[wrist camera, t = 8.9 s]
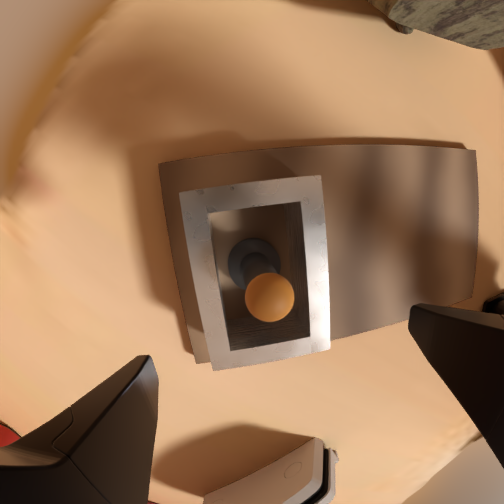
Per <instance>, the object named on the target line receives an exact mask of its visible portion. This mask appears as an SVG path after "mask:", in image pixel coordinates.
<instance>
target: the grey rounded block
mask: <svg viewBox="0 0 504 504" xmlns="http://www.w3.org/2000/svg"><path fill="white" fill-rule="evenodd" d="M323 448H324V446H323V441H322V440H320V439H318V438H315V437H314V438H313V439H311V440H310V441H308V442H307V443H305V444H304V445H302V446H300V447H299V448H297V449H295V450H294V451H292V452H290V453H289V454H287V455H285V456H284V457H282V458H280V459H278V460H277V461H275V462H273V463H271V464H269V465H267V466H266V467H264V468H262V469H260V470H258V471H256V472H254V473H252V474H250V475H248V476H246V477H244V478H242V479H240V480H238V481H236V482H233V483H231V484H229V485H227V486H225V487H222V488H220V489H218V490H215V491H213V492H211V493H208V494H206V495H205V497H204V501H203V504H328V503H330V502H331V501H332V500H333V498H334V496H335V463H337V462H338V461H339V458H338V454H337V452H336V451H334V452H333V451H332V449H331V448H329V449H324V450H323Z"/></svg>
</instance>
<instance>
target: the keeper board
mask: <svg viewBox="0 0 504 504" xmlns="http://www.w3.org/2000/svg"><path fill="white" fill-rule="evenodd" d="M158 165H159V173H160V181H161V188H162V195H163V202H164V209H165V216H166V222H167V228H168V234H169V240H170V246H171V252H172V257H173V262H174V268H175V273H176V278H177V283H178V288H179V293H180V297H181V302H182V307H183V311H184V316H185V320H186V324H187V329H188V333H189V337H190V341H191V345H192V349H193V353H194V357H195V361H196V364H199V363H208V362H211V360H210V356H209V352H208V347H207V343H206V338H205V334H204V329H203V325H202V320H201V315H200V311H199V306H198V301H197V296H196V291H195V286H194V281H193V275H192V270H191V264H190V259H189V253H188V248H187V242H186V236H185V230H184V223H183V217H182V211H181V204H180V197H179V193H180V192H184V191H189V190H195V189H202V188H208V187H215V186H222V185H229V184H237V183H245V182H253V181H261V180H270V179H279V178H289V177H299V176H314V175H321V181H322V190H323V201H324V212H325V225H326V239H327V255H328V274H329V301H330V341H331V340H335V339H339V338H344V337H348V336H352V335H355V334H359V333H363V332H367V331H371V330H374V329H378V328H381V327H385V326H388V325H392V324H395V323H398V322H402V321H405V320H408V319H409V314H410V308H411V306H413V305H415V304H418V303H425V304H431V305H438V306H444V307H447V306H450V305H452V304H455V303H458V302H460V301H463V300H466V299H468V298H471V297H472V293H473V285H474V278H475V269H476V258H477V245H478V220H479V197H478V173H477V160H476V150H468V149H458V148H447V147H433V146H415V145H379V144H356V145H319V146H300V147H285V148H272V149H261V150H251V151H242V152H233V153H225V154H217V155H209V156H202V157H196V158H189V159H183V160H177V161H171V162H165V163H160V164H158ZM210 218H211V225H212V232H213V238H214V245H215V251H216V258H217V264H218V270H219V276H220V282H221V288H222V294H223V300H224V306H225V312H226V317H227V320H231V319H237V318H244V317H250V316H254V317H256V318H257V319H259V320H262V321H266V322H274V321H278V320H280V319H282V318H284V317H285V316H286V315H287V314H288V313H289V312H290V310H291V309H293V304H294V291H293V288H292V286H291V275H290V264H289V253H288V243H287V233H286V223H285V214H284V204H283V203H281V204H273V205H265V206H258V207H250V208H243V209H236V210H228V211H222V212H215V213H210Z"/></svg>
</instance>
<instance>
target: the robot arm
mask: <svg viewBox="0 0 504 504" xmlns="http://www.w3.org/2000/svg"><path fill="white" fill-rule="evenodd" d="M408 329H409V332H410V334H411V335H412V337H413V338H414V340H415V341H416V343H417V345H418V346H419V348H420V349H421V351H422V353H423V354H424V356H425V357H426V359H427V360H428V362H429V363H430V364H431V366H432V367H433V368H434V370H435V371H436V372H437V373H438V375H439V376H440V377H441V379H442V380H443V381H444V383H445V384H446V385H447V387H448V388H449V389H450V391H451V392H452V393H453V395H454V396H455V397H456V399H457V400H458V401H459V403H460V404H461V405H462V407H463V408H464V410H465V411H466V412H467V414H468V415H469V417H470V418H471V419H472V421H473V422H474V424H475V425H476V427H477V428H478V430H479V431H480V433H481V434H482V435H483V437H484V438H485V439H486V442H487V443H488V445H489V446H490V448H491V449H492V451H493V452H494V454H495V455H496V457H497V459H498V460H499V462H500V463H501V465H502V467H503V468H504V293H502V294H500V295H498V296H496V297H493V298H491V299H489V300H487V301H486V302H485V304H484V307H483V312H478V311H471V310H464V309H457V308H451V307H444V306H438V305H431V304H425V303H418V304H415V305H413V306H411V308H410V314H409V323H408ZM158 386H159V380H158V375H157V372H156V369H155V366H154V363H153V360H152V358H151V356H150V355H139V356H137V357H135V358H134V359H133V360H131V361H130V362H129V363H127V364H126V365H125V366H123V367H122V368H121V369H119V370H118V371H117V372H115V373H114V374H113V375H111V376H110V377H109V378H107V379H106V380H105V381H103V382H102V383H101V384H99V385H98V386H97V387H95V388H94V389H93V390H91V391H90V392H88V393H87V394H86V395H84V396H83V397H82V398H80V399H79V400H78V401H76V402H75V403H74V404H72V405H71V407H68V408H67V409H65V410H64V411H63V412H61V413H60V414H58V415H57V416H55V417H54V418H53V419H51V420H50V421H48V422H46V423H45V424H43V425H42V426H40V427H38V428H37V429H35V430H33V431H32V432H30V433H28V434H26V435H25V436H23V437H21V438H20V439H18V440H16V441H14V442H13V443H11V444H9V445H6V446H3V447H0V504H148V494H149V484H150V474H151V466H152V458H153V450H154V442H155V435H156V428H157V420H158Z"/></svg>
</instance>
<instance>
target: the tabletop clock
mask: <svg viewBox="0 0 504 504" xmlns="http://www.w3.org/2000/svg"><path fill="white" fill-rule="evenodd" d="M367 1H368V2H369V3H371V4H372V5H373V6H375V7H376V8H377V9H378V10H380V11H381V12H382V13H383V14H385V15H386V16H387V17H388V18H390V19H392V20H393V21H395V22H396V27H397V29H398V30H399V31H400V32H401V33H404V34H410V33H412V31H413V29H417V30H420V31H423V32H426V33H429V34H432V35H435V36H438V37H441V38H444V39H447V40H451V41H454V42H457V43H460V44H463V45H466V46H469V47H472V48H477V49H483V50H489V49H496V48H501V47H504V0H367Z"/></svg>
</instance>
